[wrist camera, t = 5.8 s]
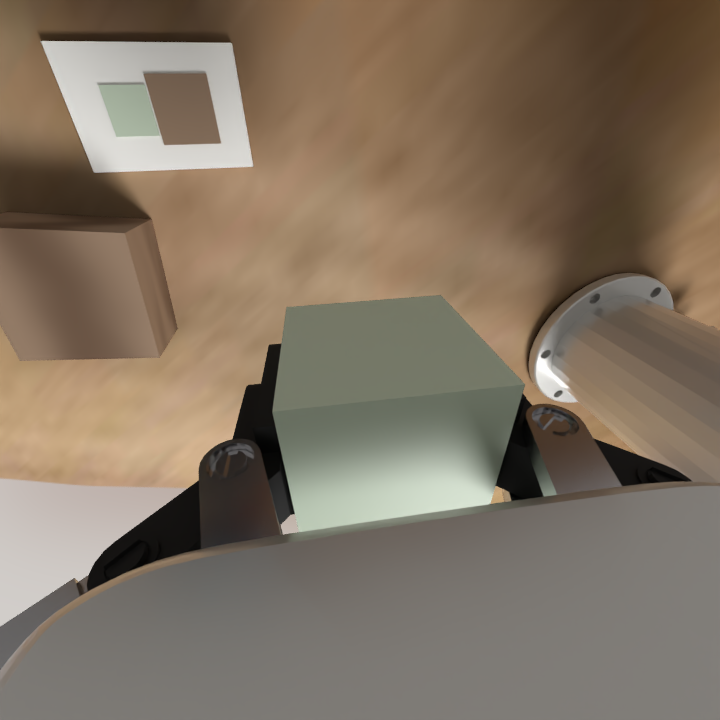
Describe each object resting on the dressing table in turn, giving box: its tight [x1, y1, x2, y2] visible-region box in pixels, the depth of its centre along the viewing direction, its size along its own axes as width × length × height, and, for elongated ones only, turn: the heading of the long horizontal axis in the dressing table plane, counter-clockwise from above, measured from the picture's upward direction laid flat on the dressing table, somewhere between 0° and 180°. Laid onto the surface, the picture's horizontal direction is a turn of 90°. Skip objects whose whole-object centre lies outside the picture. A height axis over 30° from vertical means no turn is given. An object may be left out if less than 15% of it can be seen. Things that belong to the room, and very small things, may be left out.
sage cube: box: [272, 295, 525, 532], centre depth 10 cm, size 5×5×5 cm
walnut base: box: [0, 212, 178, 361], centre depth 19 cm, size 7×7×4 cm
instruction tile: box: [41, 41, 253, 173], centre depth 16 cm, size 8×5×1 cm, turn 92°
